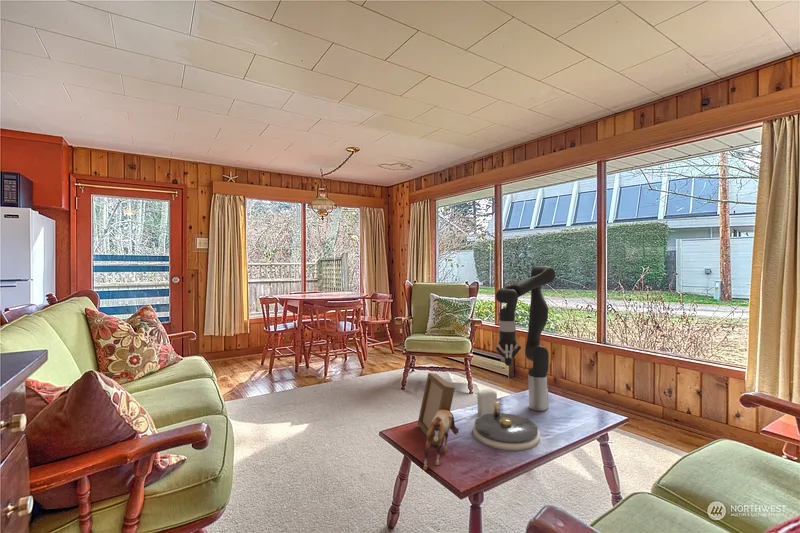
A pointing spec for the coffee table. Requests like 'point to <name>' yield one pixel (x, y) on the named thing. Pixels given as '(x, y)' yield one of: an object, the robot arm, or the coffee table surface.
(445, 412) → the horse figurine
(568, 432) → the coffee table surface
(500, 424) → the handwheel
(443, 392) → the photo frame
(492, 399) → the photo printer
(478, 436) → the base plate
